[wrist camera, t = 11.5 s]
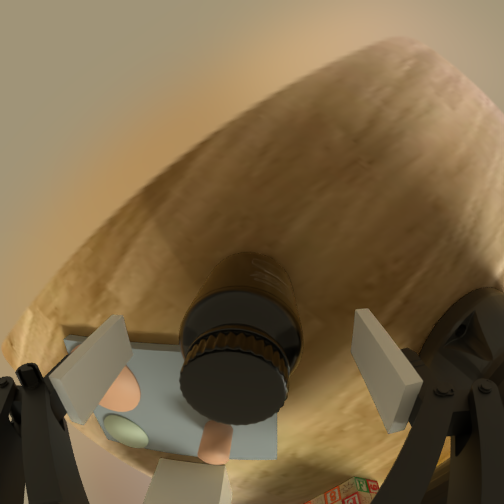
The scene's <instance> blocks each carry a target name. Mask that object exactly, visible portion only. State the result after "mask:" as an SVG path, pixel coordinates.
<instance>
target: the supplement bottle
mask: <svg viewBox="0 0 504 504" xmlns="http://www.w3.org/2000/svg"><path fill="white" fill-rule="evenodd" d="M179 346H180V351H181V354H182V357H183V359H184V364H183V366H182V368H181V370H180V377H179V383H180V390H181V391H182V396H183V397H184V398H185V399H186V401H187V403H188V404H189V405H191V406H192V408H193V409H194V410H195V411H197V412H198V413H199V414H200V415H202V416H205V417H206V418H208V419H210V420H214V421H216V422H217V423H224V424H226V425H236V426H239V425H249V424H256V423H258V422H261V421H265V420H266V419H267V418H270V417H272V416H273V415H274V414H275V413H277V412H279V410H280V408H281V407H282V406H284V401H285V400H286V399H287V397H288V391H289V377H290V376H291V375H292V374H293V372H294V371H295V370H296V368H297V366H298V364H299V362H300V360H301V357H302V353H303V332H302V327H301V323H300V318H299V314H298V309H297V305H296V301H295V296H294V292H293V288H292V284H291V281H290V279H289V277H288V275H287V273H286V271H285V270H284V269H283V267H282V266H281V265H280V264H279V263H277V262H276V261H275V260H273V259H272V258H270V257H268V256H266V255H263V254H259V253H254V252H243V253H238V254H234V255H232V256H229V257H227V258H226V259H224V260H223V261H221V262H220V263H219V264H218V265H217V266H216V267H215V268H214V269H213V271H212V272H211V274H210V275H209V277H208V278H207V280H206V282H205V283H204V285H203V286H202V288H201V290H200V291H199V293H198V294H197V296H196V298H195V299H194V301H193V302H192V304H191V306H190V307H189V309H188V311H187V312H186V314H185V316H184V318H183V321H182V323H181V326H180V331H179Z"/></svg>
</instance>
